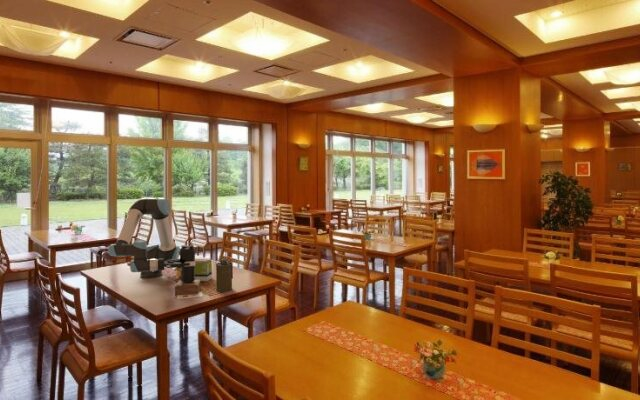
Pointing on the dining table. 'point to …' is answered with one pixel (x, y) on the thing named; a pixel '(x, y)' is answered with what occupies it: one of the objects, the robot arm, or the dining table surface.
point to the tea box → (203, 269)
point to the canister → (224, 276)
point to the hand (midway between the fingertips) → (194, 261)
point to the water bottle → (187, 256)
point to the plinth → (187, 287)
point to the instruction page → (189, 296)
